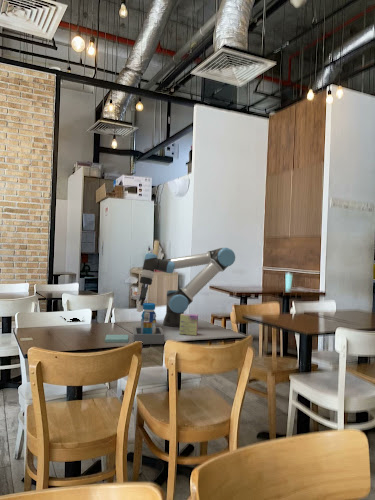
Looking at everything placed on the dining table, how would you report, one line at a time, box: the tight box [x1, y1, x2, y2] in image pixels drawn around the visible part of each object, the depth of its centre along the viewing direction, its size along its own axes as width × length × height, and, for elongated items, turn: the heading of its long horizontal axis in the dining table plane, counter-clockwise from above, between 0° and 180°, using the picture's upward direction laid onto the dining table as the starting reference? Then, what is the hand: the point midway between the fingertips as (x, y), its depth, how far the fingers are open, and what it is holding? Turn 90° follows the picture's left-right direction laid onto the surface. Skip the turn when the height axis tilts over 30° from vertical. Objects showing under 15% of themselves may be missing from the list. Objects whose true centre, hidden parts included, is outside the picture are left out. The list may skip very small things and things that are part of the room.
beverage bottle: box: [140, 302, 157, 334], centre depth 222 cm, size 8×8×20 cm
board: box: [104, 334, 129, 343], centre depth 220 cm, size 12×12×2 cm
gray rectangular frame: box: [132, 326, 165, 345], centre depth 222 cm, size 16×20×5 cm
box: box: [179, 313, 199, 336], centre depth 241 cm, size 10×6×12 cm, turn 84°
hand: (139, 311), depth 247 cm, fingers open, 13 cm apart
